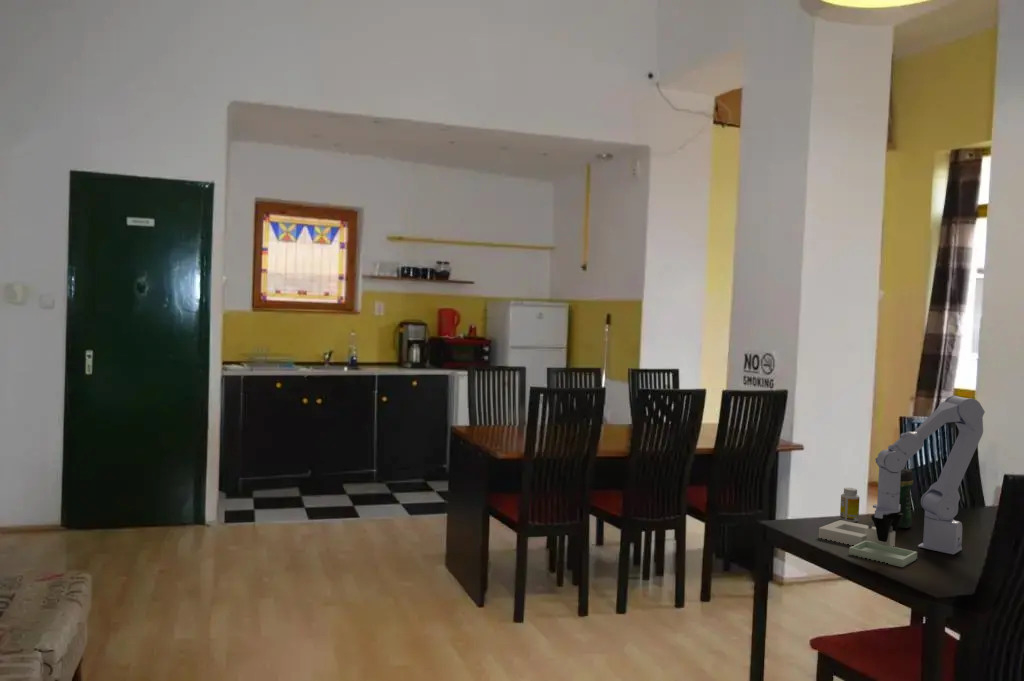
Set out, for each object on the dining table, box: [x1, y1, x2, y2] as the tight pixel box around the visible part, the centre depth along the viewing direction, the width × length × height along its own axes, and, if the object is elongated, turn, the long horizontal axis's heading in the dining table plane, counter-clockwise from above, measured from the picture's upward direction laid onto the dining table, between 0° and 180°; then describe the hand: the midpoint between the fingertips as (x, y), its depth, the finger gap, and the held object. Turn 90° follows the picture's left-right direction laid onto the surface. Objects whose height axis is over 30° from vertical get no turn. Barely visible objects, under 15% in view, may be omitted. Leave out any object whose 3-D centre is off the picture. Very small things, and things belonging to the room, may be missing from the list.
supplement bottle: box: [839, 487, 860, 523], centre depth 260 cm, size 6×6×10 cm
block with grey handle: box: [865, 520, 896, 547], centre depth 232 cm, size 7×4×6 cm, turn 45°
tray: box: [848, 541, 918, 568], centre depth 220 cm, size 14×11×2 cm
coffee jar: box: [897, 468, 914, 529], centre depth 256 cm, size 10×8×19 cm
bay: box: [818, 519, 868, 546], centre depth 238 cm, size 12×15×3 cm
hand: (886, 539), depth 231 cm, fingers open, 5 cm apart
